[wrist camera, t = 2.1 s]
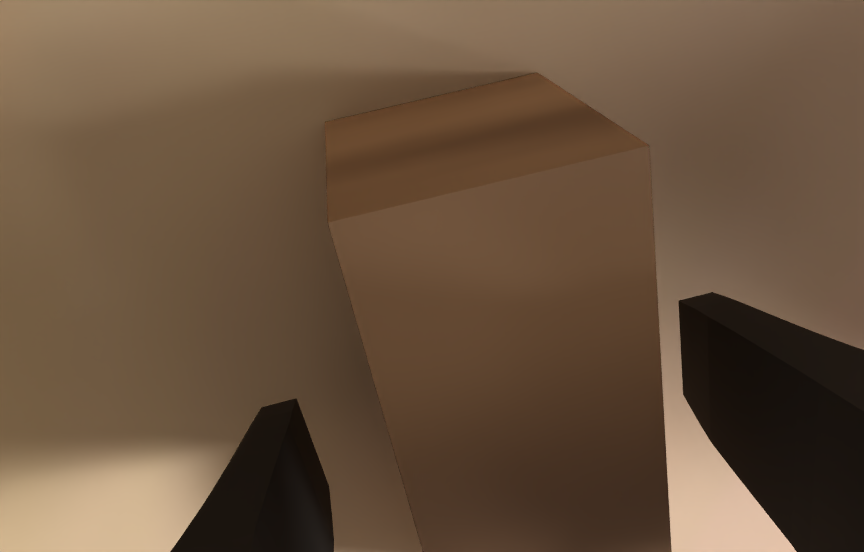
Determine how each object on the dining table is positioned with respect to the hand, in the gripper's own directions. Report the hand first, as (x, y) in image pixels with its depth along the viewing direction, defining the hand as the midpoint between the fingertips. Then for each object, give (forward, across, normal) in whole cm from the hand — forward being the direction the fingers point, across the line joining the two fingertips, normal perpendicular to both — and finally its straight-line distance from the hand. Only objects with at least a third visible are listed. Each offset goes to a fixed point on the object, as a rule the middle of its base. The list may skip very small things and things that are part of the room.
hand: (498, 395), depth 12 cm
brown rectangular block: (+2, 0, 0) cm, 2 cm away
